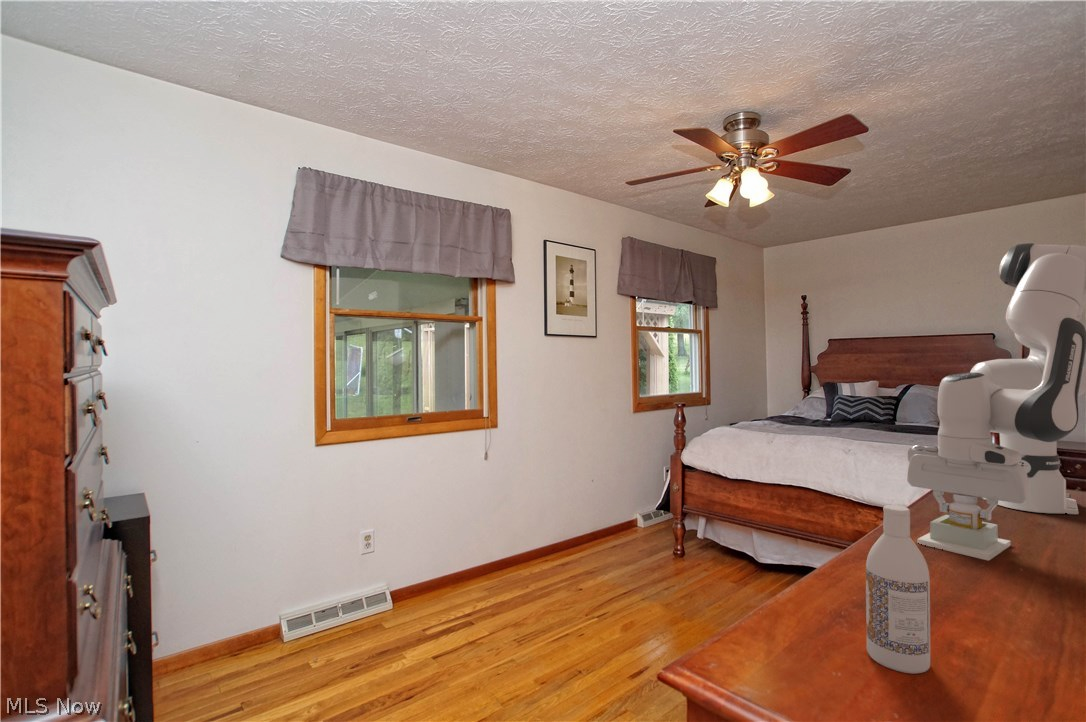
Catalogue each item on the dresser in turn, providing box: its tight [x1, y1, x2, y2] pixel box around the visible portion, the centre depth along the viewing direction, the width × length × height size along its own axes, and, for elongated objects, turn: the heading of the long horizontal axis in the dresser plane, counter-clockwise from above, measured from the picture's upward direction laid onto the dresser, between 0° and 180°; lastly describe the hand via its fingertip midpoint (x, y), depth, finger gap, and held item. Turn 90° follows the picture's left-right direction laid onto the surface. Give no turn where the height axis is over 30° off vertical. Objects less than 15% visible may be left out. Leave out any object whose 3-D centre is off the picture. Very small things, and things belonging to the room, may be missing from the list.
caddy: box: [916, 514, 1012, 561], centre depth 111 cm, size 14×12×4 cm
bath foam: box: [865, 504, 931, 675], centre depth 69 cm, size 7×7×20 cm
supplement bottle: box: [948, 493, 983, 530], centre depth 111 cm, size 5×5×10 cm
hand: (964, 515), depth 111 cm, fingers open, 6 cm apart
